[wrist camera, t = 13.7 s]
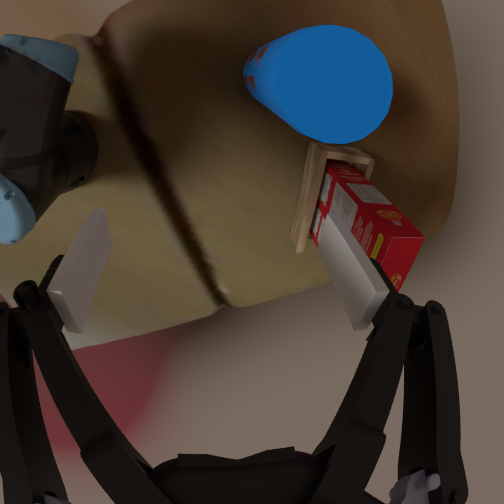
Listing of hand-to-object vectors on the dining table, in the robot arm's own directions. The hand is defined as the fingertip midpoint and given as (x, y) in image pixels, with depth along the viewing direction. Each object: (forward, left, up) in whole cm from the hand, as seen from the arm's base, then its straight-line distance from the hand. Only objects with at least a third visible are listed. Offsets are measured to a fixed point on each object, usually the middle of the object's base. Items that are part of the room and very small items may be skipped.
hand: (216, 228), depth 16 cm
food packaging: (+22, -12, -32) cm, 41 cm away
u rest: (+22, -12, -33) cm, 41 cm away
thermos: (+9, +9, -33) cm, 35 cm away
